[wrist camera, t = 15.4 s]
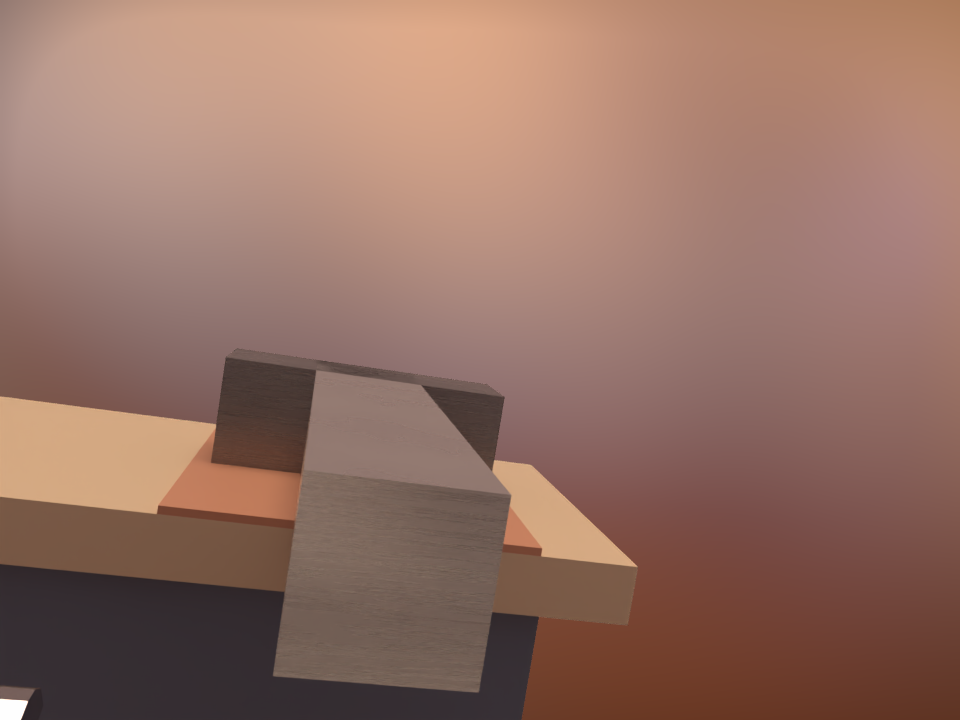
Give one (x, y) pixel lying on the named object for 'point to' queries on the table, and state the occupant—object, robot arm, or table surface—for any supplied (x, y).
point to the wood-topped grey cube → (228, 578)
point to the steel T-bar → (376, 515)
